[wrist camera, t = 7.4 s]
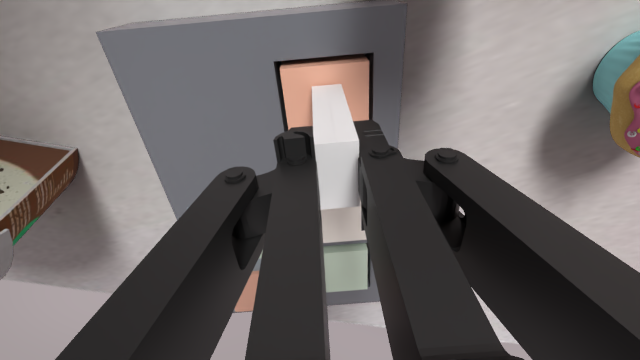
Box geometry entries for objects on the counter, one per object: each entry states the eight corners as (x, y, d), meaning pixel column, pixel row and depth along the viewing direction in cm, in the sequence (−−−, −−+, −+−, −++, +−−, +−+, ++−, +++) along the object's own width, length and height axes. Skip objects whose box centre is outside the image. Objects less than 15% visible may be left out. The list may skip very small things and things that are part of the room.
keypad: (131, 22, 17) (89, 33, 14) (390, -1, 17) (410, 4, 14) (226, 280, 29) (216, 319, 26) (379, 268, 29) (388, 306, 26)
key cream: (296, 167, 20) (295, 189, 18) (364, 161, 20) (371, 183, 18) (303, 219, 22) (303, 244, 20) (364, 214, 22) (370, 239, 20)
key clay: (282, 58, 17) (279, 69, 15) (361, 51, 17) (369, 61, 15) (292, 130, 20) (291, 148, 18) (362, 124, 20) (368, 142, 18)
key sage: (306, 231, 24) (306, 254, 22) (362, 226, 24) (367, 249, 22) (311, 268, 27) (312, 293, 25) (362, 264, 27) (367, 289, 25)
